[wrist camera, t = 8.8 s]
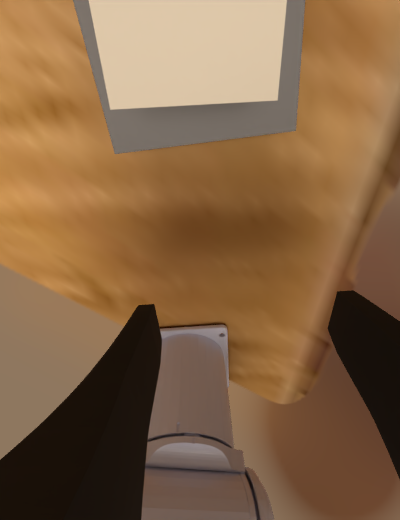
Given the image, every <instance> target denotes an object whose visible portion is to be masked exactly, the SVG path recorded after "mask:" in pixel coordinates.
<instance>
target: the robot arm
mask: <svg viewBox="0 0 400 520" xmlns="http://www.w3.org/2000/svg"><path fill="white" fill-rule="evenodd" d="M328 331H329V333H330V336H331V339H332V341H333V344H334V346H335V348H336V351H337V353H338V355H339V357H340V359H341V361H342V362H343V364H344V366H345V368H346V370H347V372H348V373H349V375H350V377H351V379H352V381H353V382H354V384H355V386H356V387H357V389H358V391H359V393H360V395H361V397H362V398H363V400H364V402H365V404H366V406H367V407H368V409H369V411H370V413H371V415H372V417H373V419H374V421H375V423H376V425H377V427H378V430H379V432H380V434H381V436H382V439H383V441H384V443H385V445H386V448H387V450H388V452H389V454H390V457H391V459H392V462H393V464H394V467H395V469H396V471H397V474H398V476H399V478H400V321H398V320H397V319H395V318H394V317H393V316H391V315H389V314H388V313H387V312H385V311H384V310H382V309H381V308H379V307H378V306H376V305H374V304H373V303H371V302H370V301H369V300H367V299H366V298H364V297H363V296H361V295H360V294H358V293H357V292H355V291H339V292H337V295H336V299H335V303H334V306H333V310H332V314H331V318H330V322H329V326H328ZM221 333H223V334H221ZM228 387H229V367H228V334H227V327H226V326H225V325H208V326H193V327H178V328H163V329H160V328H159V323H158V319H157V315H156V310H155V306H154V304H150V305H139V306H138V307H137V308H136V310H135V311H134V313H133V314H132V316H131V317H130V319H129V320H128V322H127V323H126V325H125V326H124V328H123V329H122V331H121V332H120V334H119V335H118V337H117V338H116V339H115V341H114V342H113V343H112V345H111V346H110V347H109V349H108V350H107V352H106V353H105V354H104V355H103V357H102V358H101V359H100V361H99V362H98V363H97V364H96V365H95V367H94V368H93V369H92V370H91V372H90V373H89V374H88V375H87V376H86V377H85V379H84V380H83V381H82V382H81V383H80V384H79V385H78V386H77V388H76V389H75V390H74V391H73V392H72V393H71V394H70V395H69V396H68V397H67V399H65V400H64V402H62V403H61V404H60V405H59V407H57V408H56V410H54V411H53V413H51V414H50V415H49V416H48V417H47V418H46V419H45V420H44V421H43V422H42V423H41V424H40V425H39V426H38V427H37V428H36V429H35V430H34V431H32V432H31V433H30V434H29V435H28V436H27V437H26V438H25V439H23V440H22V441H21V442H20V443H19V444H18V445H17V446H16V447H14V448H13V449H12V450H11V451H10V452H9V453H8V454H7V455H5V456H4V457H3V458H2V459H1V460H0V520H274V516H273V512H272V508H271V504H270V500H269V497H268V495H267V492H266V490H265V488H264V486H263V484H262V483H261V481H260V480H259V477H258V476H257V474H256V473H255V471H254V470H253V469H250V468H248V467H245V465H244V458H243V451H242V450H236V449H234V442H233V434H232V424H231V416H230V406H229V397H228Z"/></svg>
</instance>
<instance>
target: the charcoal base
mask: <svg viewBox="0 0 400 520" xmlns="http://www.w3.org/2000/svg"><path fill="white" fill-rule="evenodd" d="M73 2H74V5H75V9H76V13H77V16H78V20H79V24H80V27H81V31H82V35H83V38H84V42H85V46H86V49H87V53H88V57H89V60H90V64H91V68H92V71H93V75H94V79H95V82H96V86H97V90H98V93H99V97H100V101H101V104H102V108H103V112H104V115H105V119H106V123H107V126H108V130H109V134H110V137H111V141H112V145H113V148H114V152H115V154H119V153H127V152H135V151H142V150H150V149H158V148H166V147H174V146H181V145H189V144H197V143H205V142H212V141H220V140H228V139H236V138H244V137H251V136H259V135H267V134H275V133H282V132H290V131H296V122H297V108H298V94H299V80H300V66H301V52H302V37H303V23H304V9H305V0H287V5H286V16H285V26H284V37H283V48H282V58H281V69H280V80H279V90H278V100H277V101H259V102H241V103H222V104H204V105H186V106H168V107H150V108H132V109H114V110H110V106H109V101H108V96H107V91H106V86H105V81H104V76H103V70H102V65H101V60H100V55H99V50H98V45H97V40H96V35H95V30H94V25H93V20H92V15H91V10H90V5H89V0H73Z"/></svg>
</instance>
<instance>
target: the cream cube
mask: <svg viewBox="0 0 400 520" xmlns="http://www.w3.org/2000/svg"><path fill="white" fill-rule="evenodd" d="M89 5H90V10H91V15H92V20H93V25H94V30H95V35H96V40H97V45H98V50H99V55H100V60H101V65H102V70H103V76H104V81H105V86H106V91H107V96H108V101H109V106H110V110H114V109H132V108H150V107H168V106H186V105H204V104H222V103H241V102H259V101H277V100H278V90H279V80H280V69H281V58H282V48H283V37H284V26H285V16H286V5H287V0H89Z"/></svg>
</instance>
